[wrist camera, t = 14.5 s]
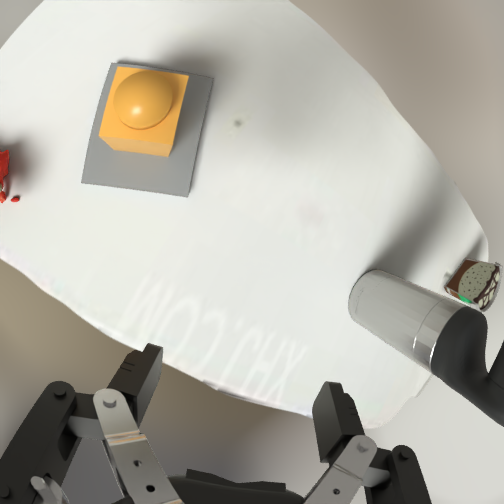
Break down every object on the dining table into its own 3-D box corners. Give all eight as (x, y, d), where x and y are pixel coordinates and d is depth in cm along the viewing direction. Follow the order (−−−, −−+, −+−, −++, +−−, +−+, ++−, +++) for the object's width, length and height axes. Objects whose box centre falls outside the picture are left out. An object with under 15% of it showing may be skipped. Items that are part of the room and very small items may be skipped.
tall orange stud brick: (179, 104, 28) (191, 68, 19) (168, 157, 29) (173, 141, 20) (126, 97, 26) (115, 58, 17) (114, 150, 27) (94, 132, 17)
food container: (444, 310, 53) (478, 326, 44) (440, 291, 51) (477, 306, 42) (471, 273, 55) (504, 285, 45) (468, 253, 52) (503, 264, 43)
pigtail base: (211, 82, 30) (221, 65, 25) (186, 197, 32) (192, 198, 27) (112, 67, 26) (106, 48, 21) (84, 183, 28) (71, 182, 23)
